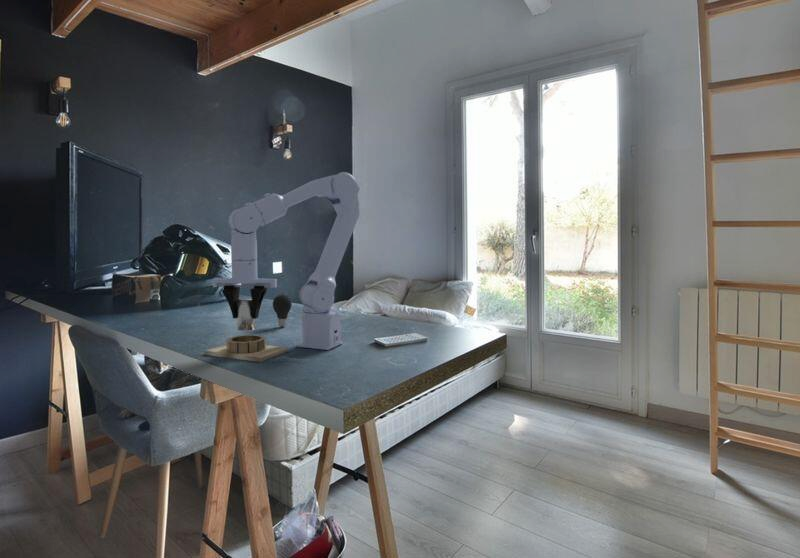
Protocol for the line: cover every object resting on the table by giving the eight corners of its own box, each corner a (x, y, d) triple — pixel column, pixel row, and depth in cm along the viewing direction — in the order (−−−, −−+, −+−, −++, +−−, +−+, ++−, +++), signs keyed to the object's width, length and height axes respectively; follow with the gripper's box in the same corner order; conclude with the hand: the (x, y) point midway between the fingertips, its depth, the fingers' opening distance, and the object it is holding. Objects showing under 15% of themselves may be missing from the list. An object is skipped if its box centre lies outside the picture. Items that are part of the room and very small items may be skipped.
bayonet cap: (241, 326, 112) (240, 298, 111) (257, 326, 112) (257, 298, 111) (234, 331, 106) (233, 300, 106) (251, 331, 106) (251, 301, 106)
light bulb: (287, 329, 137) (286, 296, 137) (269, 328, 139) (269, 295, 138) (295, 325, 143) (294, 293, 142) (278, 325, 144) (277, 293, 143)
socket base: (287, 351, 111) (287, 337, 111) (260, 362, 102) (260, 346, 102) (234, 345, 117) (234, 331, 117) (204, 354, 108) (204, 339, 107)
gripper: (280, 259, 111) (280, 315, 113) (220, 259, 111) (221, 314, 113) (271, 261, 104) (272, 320, 106) (207, 260, 104) (209, 319, 106)
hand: (245, 317), depth 109 cm, fingers closed on bayonet cap, 4 cm apart
